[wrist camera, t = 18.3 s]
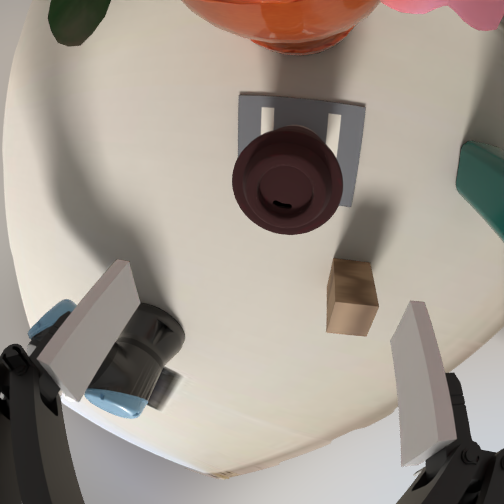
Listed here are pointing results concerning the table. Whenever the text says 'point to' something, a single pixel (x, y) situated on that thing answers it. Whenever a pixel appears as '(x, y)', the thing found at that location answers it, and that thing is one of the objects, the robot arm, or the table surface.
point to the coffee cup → (288, 181)
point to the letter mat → (313, 117)
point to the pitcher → (483, 182)
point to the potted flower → (276, 19)
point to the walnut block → (351, 298)
